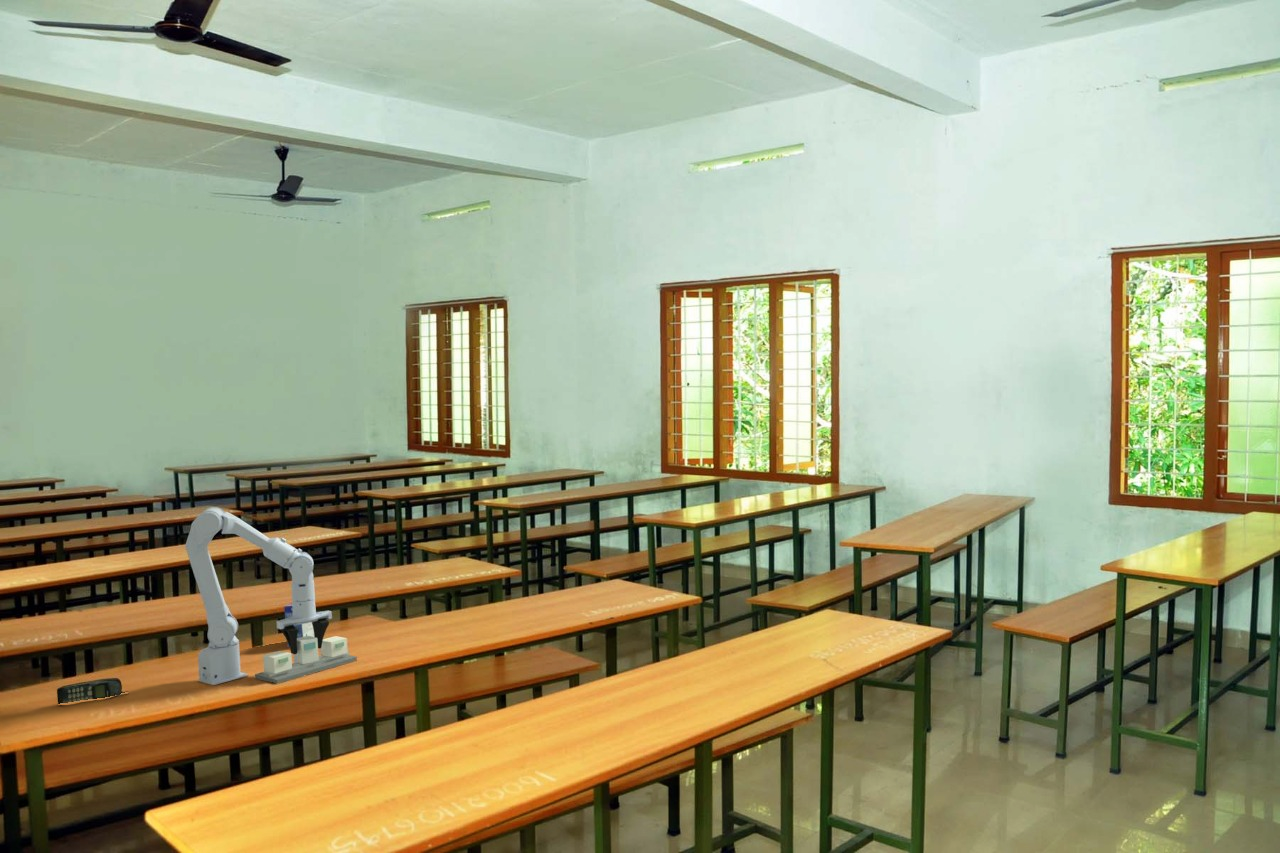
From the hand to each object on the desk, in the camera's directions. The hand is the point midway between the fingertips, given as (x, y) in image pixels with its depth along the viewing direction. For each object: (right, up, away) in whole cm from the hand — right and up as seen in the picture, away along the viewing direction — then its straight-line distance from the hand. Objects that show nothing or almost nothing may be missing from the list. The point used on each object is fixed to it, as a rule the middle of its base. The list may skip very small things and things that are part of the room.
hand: (306, 650), depth 257 cm
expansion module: (0, -3, 0) cm, 3 cm away
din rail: (0, -5, 0) cm, 5 cm away
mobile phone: (-45, -8, -20) cm, 50 cm away
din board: (0, -5, 0) cm, 5 cm away
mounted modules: (0, -3, 0) cm, 3 cm away
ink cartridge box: (-11, -5, +29) cm, 31 cm away
